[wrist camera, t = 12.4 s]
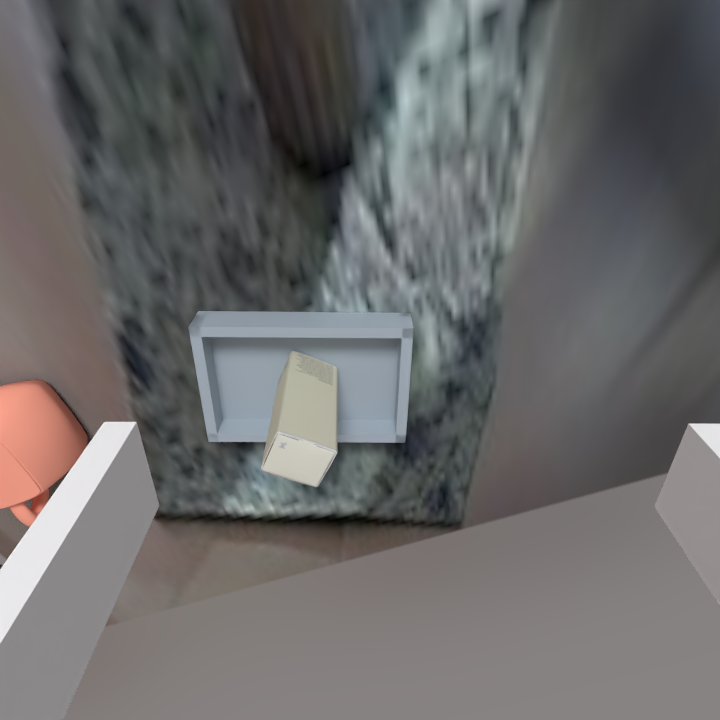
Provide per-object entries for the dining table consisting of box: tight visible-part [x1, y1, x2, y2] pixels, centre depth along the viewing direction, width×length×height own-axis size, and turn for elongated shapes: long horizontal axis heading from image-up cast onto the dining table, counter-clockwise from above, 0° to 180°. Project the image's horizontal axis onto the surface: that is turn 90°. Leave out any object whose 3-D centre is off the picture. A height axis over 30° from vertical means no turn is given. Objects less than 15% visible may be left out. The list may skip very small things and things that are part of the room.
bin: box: [189, 311, 414, 443], centre depth 50 cm, size 13×20×3 cm, turn 89°
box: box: [261, 351, 338, 487], centre depth 45 cm, size 5×4×13 cm
